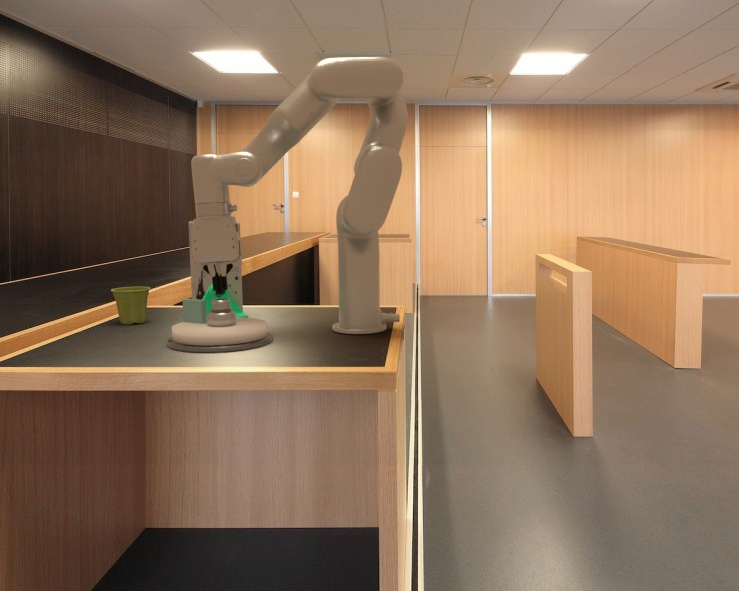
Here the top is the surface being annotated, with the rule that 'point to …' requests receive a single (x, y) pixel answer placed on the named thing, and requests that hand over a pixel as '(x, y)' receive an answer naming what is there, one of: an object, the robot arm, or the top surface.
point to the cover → (221, 314)
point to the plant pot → (131, 304)
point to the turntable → (214, 328)
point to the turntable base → (220, 346)
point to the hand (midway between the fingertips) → (220, 293)
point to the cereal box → (204, 280)
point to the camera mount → (211, 295)
